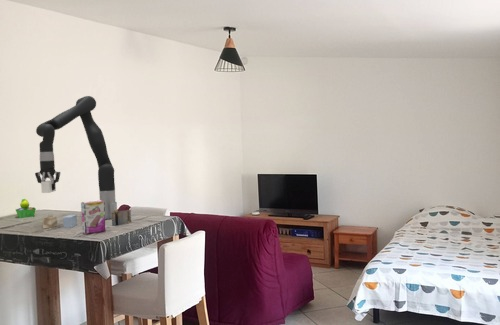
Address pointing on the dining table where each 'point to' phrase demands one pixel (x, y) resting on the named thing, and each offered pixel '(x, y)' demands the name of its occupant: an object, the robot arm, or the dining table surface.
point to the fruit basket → (25, 209)
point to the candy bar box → (93, 216)
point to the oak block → (50, 221)
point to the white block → (47, 187)
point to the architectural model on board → (121, 217)
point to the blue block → (69, 221)
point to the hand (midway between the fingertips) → (48, 190)
